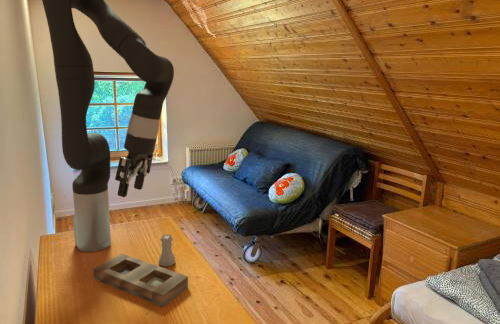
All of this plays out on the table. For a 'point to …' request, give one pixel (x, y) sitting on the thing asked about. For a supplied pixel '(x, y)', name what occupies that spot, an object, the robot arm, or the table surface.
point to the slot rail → (141, 279)
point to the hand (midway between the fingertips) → (130, 192)
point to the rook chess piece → (166, 252)
